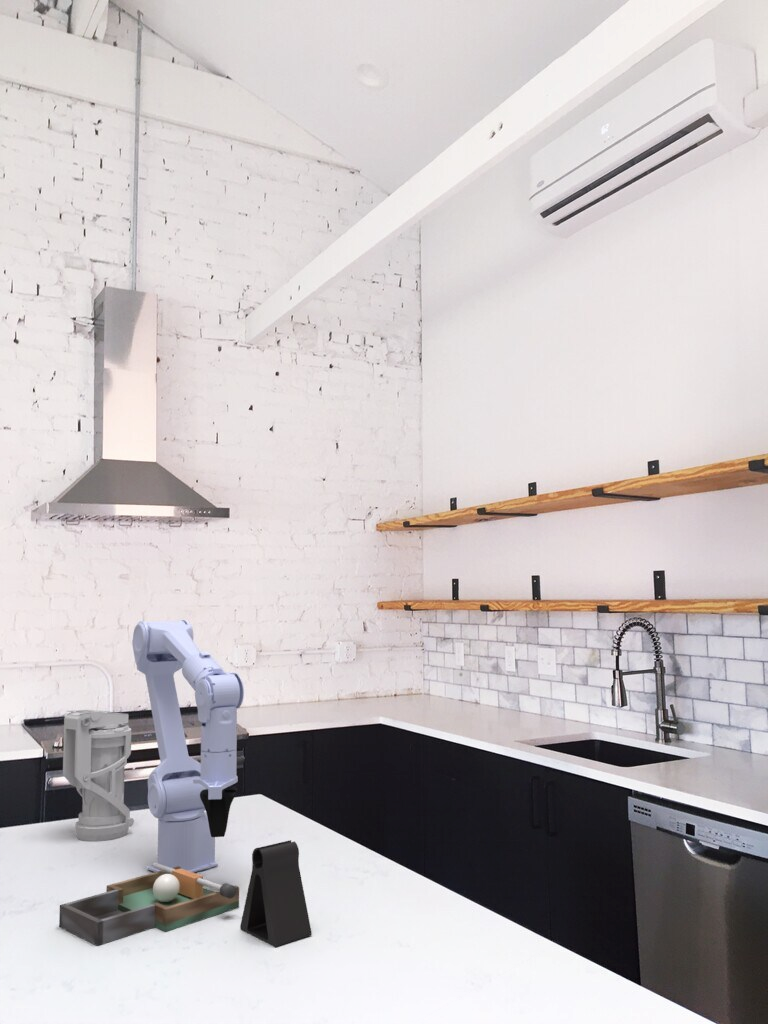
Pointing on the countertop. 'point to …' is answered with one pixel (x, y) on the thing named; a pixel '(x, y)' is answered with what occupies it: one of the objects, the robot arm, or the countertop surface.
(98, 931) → the pitch
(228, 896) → the kicker
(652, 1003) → the countertop surface
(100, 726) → the lantern
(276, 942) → the phone stand
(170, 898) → the ball
